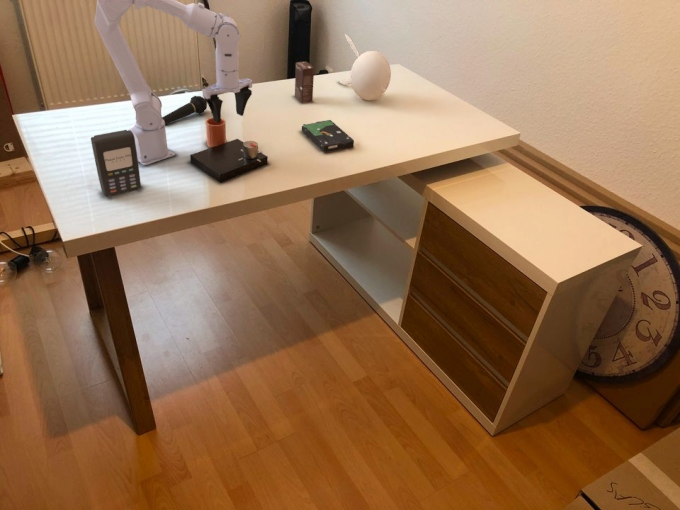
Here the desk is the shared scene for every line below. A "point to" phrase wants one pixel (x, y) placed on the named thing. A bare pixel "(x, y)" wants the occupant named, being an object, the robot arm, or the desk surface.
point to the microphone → (187, 109)
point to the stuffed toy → (368, 74)
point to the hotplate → (226, 161)
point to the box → (304, 82)
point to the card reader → (116, 162)
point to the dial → (250, 149)
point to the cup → (215, 132)
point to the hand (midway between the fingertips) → (228, 117)
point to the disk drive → (327, 136)
